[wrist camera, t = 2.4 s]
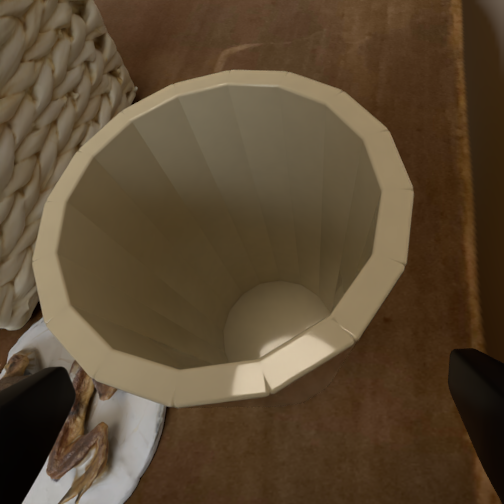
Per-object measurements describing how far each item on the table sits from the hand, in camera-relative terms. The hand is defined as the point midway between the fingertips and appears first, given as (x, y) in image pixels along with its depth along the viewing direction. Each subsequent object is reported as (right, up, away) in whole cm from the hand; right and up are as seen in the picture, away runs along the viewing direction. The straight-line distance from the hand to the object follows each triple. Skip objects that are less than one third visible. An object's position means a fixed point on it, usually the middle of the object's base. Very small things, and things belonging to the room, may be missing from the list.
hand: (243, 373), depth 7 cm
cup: (+2, -2, +10) cm, 10 cm away
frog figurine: (-10, -6, +10) cm, 15 cm away
